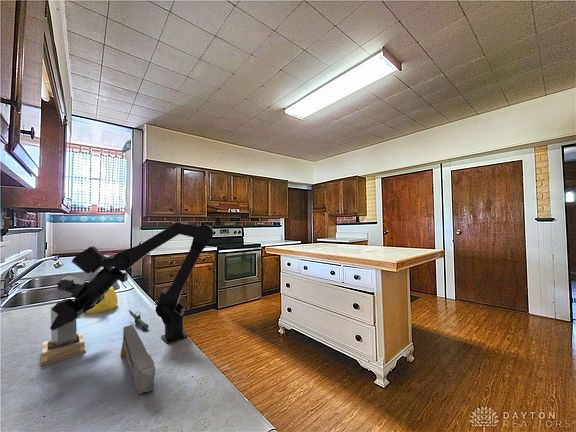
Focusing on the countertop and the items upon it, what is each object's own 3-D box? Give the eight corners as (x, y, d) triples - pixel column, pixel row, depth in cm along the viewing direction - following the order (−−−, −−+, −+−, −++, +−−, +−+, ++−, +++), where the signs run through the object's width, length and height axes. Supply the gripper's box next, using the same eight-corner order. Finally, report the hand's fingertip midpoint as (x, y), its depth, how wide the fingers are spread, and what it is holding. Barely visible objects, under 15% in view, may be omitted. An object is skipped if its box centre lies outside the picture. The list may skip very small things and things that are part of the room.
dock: (85, 352, 75) (85, 341, 75) (40, 365, 69) (40, 354, 69) (83, 341, 82) (83, 332, 82) (41, 352, 76) (41, 342, 76)
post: (76, 344, 76) (76, 304, 77) (58, 351, 72) (57, 309, 73) (69, 341, 78) (69, 302, 79) (51, 348, 75) (50, 307, 75)
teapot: (73, 307, 117) (72, 284, 117) (113, 299, 127) (113, 278, 127) (75, 321, 100) (75, 293, 100) (121, 310, 111) (121, 286, 111)
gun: (136, 430, 57) (142, 378, 53) (116, 352, 74) (119, 308, 70) (152, 422, 59) (159, 372, 55) (128, 348, 76) (132, 305, 72)
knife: (125, 315, 101) (125, 303, 101) (130, 314, 102) (131, 302, 102) (143, 334, 89) (143, 321, 88) (149, 332, 90) (150, 319, 90)
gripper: (93, 262, 86) (54, 298, 83) (60, 272, 68) (9, 319, 65) (120, 283, 88) (83, 319, 85) (95, 298, 70) (47, 345, 67)
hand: (58, 324), depth 75 cm, fingers closed on post, 6 cm apart
